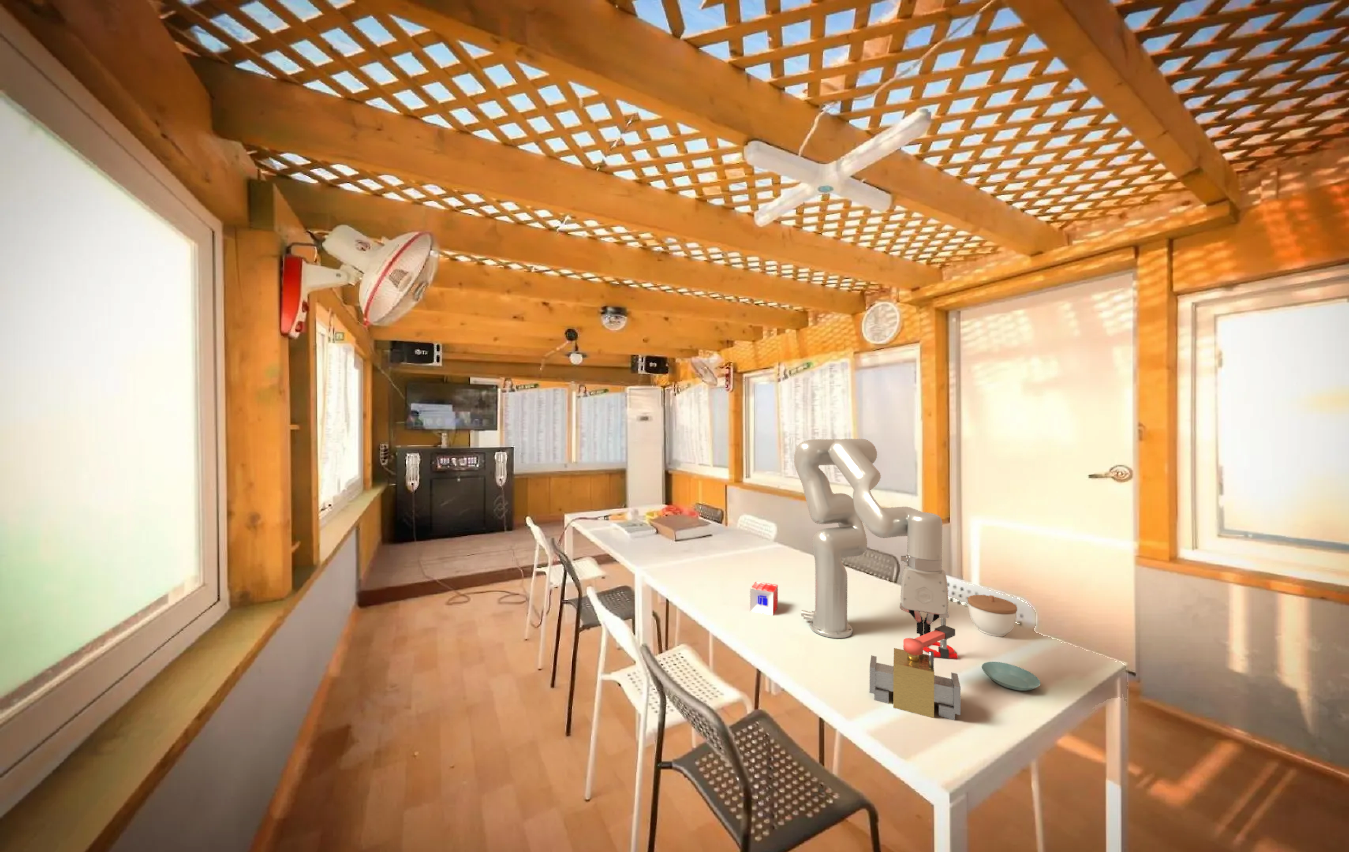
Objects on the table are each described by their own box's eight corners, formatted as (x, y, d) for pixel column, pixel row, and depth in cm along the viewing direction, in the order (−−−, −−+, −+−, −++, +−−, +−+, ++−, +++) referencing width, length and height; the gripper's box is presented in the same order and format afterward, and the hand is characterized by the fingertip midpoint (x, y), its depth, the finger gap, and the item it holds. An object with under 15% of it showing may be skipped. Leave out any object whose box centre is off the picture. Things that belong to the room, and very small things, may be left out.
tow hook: (915, 643, 134) (928, 657, 125) (915, 599, 134) (928, 610, 125) (946, 646, 133) (961, 660, 123) (946, 601, 133) (961, 612, 124)
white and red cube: (777, 607, 159) (777, 584, 159) (773, 615, 152) (773, 592, 152) (755, 603, 162) (755, 581, 162) (749, 611, 155) (749, 588, 155)
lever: (916, 656, 101) (916, 647, 101) (899, 649, 105) (899, 640, 105) (957, 638, 110) (957, 630, 110) (940, 631, 114) (940, 623, 114)
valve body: (869, 701, 104) (869, 643, 104) (871, 683, 112) (871, 629, 112) (960, 724, 96) (961, 661, 96) (956, 704, 104) (957, 645, 104)
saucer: (1047, 686, 112) (1047, 677, 112) (1030, 702, 105) (1030, 692, 105) (992, 665, 121) (992, 657, 121) (973, 679, 114) (973, 670, 114)
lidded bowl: (986, 620, 149) (986, 587, 149) (1027, 637, 137) (1027, 601, 137) (958, 625, 145) (958, 591, 145) (997, 643, 133) (997, 605, 133)
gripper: (890, 562, 112) (889, 636, 112) (961, 572, 105) (960, 651, 105) (891, 555, 119) (890, 625, 119) (958, 563, 112) (957, 637, 112)
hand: (923, 637), depth 112 cm, fingers closed
